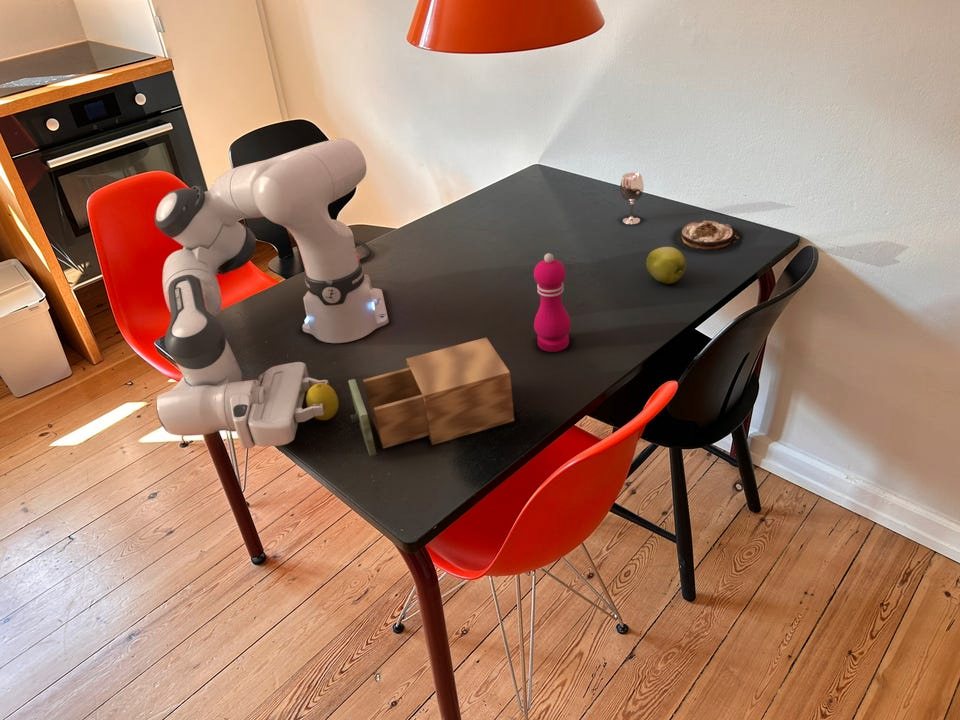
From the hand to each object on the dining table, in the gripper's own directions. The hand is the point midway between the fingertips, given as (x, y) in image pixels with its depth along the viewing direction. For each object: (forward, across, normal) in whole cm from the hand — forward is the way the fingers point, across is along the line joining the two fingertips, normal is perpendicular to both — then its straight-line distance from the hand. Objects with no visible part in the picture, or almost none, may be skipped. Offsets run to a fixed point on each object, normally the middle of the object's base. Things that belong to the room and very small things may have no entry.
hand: (326, 397), depth 137 cm
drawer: (+13, +5, -4) cm, 14 cm away
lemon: (-1, 0, -5) cm, 5 cm away
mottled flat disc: (+85, -56, -6) cm, 102 cm away
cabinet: (+24, +2, -5) cm, 25 cm away
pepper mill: (+43, -17, -5) cm, 46 cm away
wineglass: (+70, -70, -5) cm, 99 cm away
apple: (+70, -37, -5) cm, 80 cm away
